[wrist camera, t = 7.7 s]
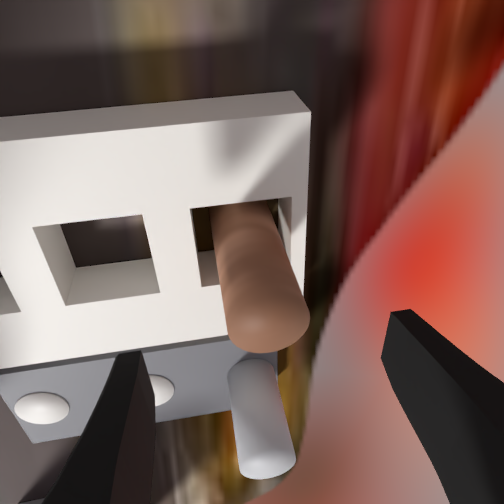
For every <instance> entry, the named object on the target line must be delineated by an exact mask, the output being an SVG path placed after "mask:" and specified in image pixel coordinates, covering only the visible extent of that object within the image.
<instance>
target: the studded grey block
mask: <svg viewBox="0 0 504 504" xmlns="http://www.w3.org/2000/svg"><path fill="white" fill-rule="evenodd" d="M139 350H141V351H142V354H143V357H144V361H145V364H146V367H147V371H148V374H149V377H150V381H151V384H152V387H153V390H154V394H155V414H156V423H157V422H163V421H169V420H175V419H181V418H187V417H193V416H199V415H204V414H210V413H216V412H222V411H228V410H232V417H233V425H234V432H235V439H236V447H237V454H238V461H239V469H240V472H241V474H242V475H244V476H245V477H248V478H251V479H267V478H272V477H275V476H278V475H281V474H283V473H285V472H286V471H288V470H289V469H290V468H291V467H292V466H293V465H294V464H295V461H296V457H295V452H294V448H293V444H292V440H291V436H290V432H289V428H288V424H287V420H286V416H285V412H284V408H283V404H282V400H281V396H280V392H279V388H278V378H277V351H275V352H270V353H252V352H248V351H245V350H242V349H240V348H239V347H237V346H236V345H234V344H233V342H232V341H231V340H230V338H229V336H228V335H223V336H217V337H210V338H203V339H197V340H190V341H184V342H177V343H170V344H164V345H157V346H150V347H144V348H137V349H130V350H124V351H117V352H110V353H104V354H97V355H90V356H84V357H77V358H70V359H64V360H57V361H50V362H44V363H37V364H30V365H24V366H17V367H10V368H4V369H0V395H1V396H2V398H3V399H4V401H5V402H6V404H7V405H8V407H9V408H10V410H11V411H12V413H13V414H14V416H15V417H16V419H17V420H18V422H19V423H20V425H21V426H22V428H23V429H24V431H25V432H26V434H27V435H28V437H29V438H30V440H31V441H32V443H39V442H45V441H51V440H57V439H63V438H68V437H74V436H80V435H81V434H82V432H83V430H84V428H85V426H86V424H87V422H88V420H89V418H90V416H91V414H92V412H93V410H94V408H95V406H96V404H97V401H98V399H99V397H100V395H101V392H102V390H103V388H104V386H105V383H106V381H107V378H108V376H109V373H110V371H111V368H112V366H113V363H114V360H115V357H116V356H117V355H118V354H120V353H126V352H133V351H139Z"/></svg>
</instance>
